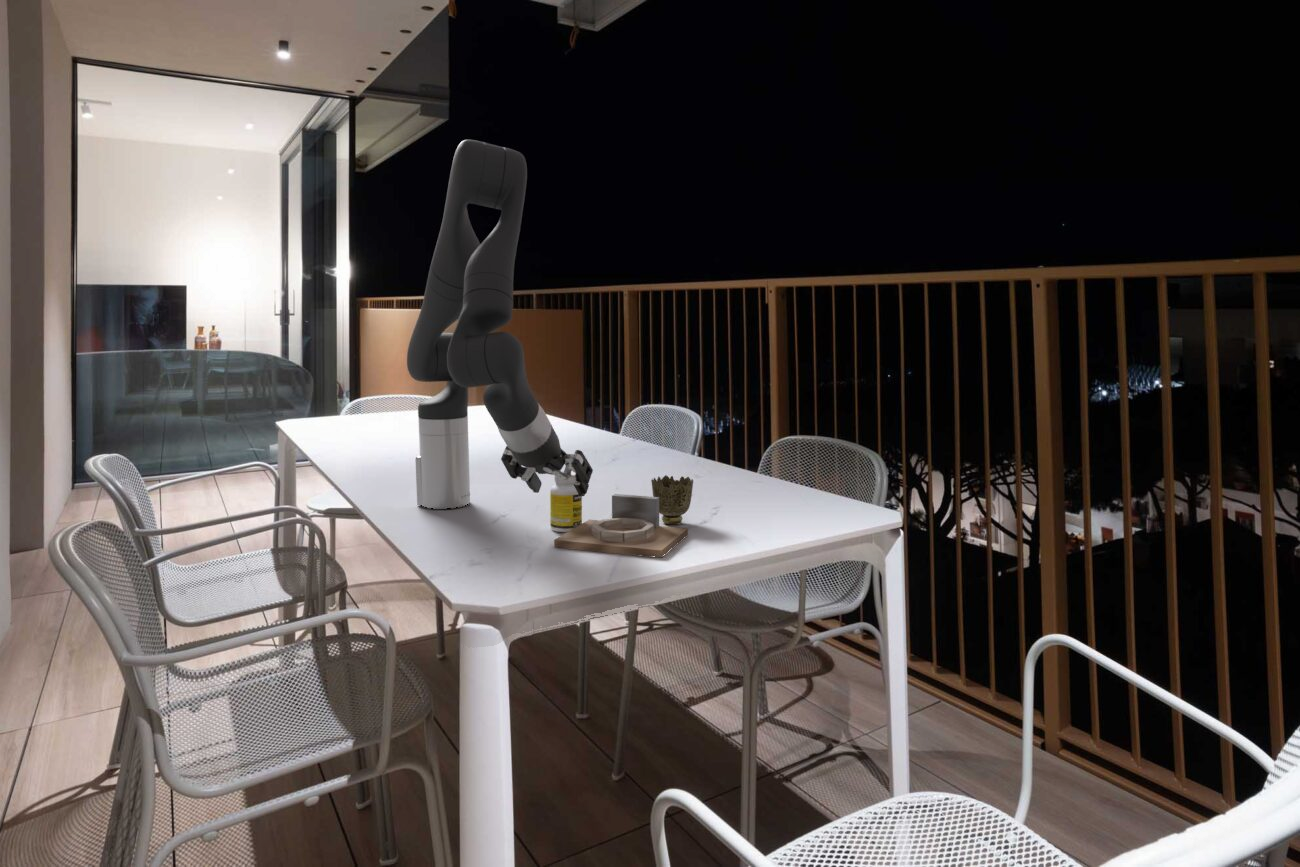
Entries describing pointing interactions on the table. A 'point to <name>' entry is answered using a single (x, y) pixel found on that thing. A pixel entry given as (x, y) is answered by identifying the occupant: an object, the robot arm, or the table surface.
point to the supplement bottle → (565, 506)
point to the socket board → (625, 530)
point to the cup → (672, 497)
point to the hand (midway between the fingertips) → (560, 490)
